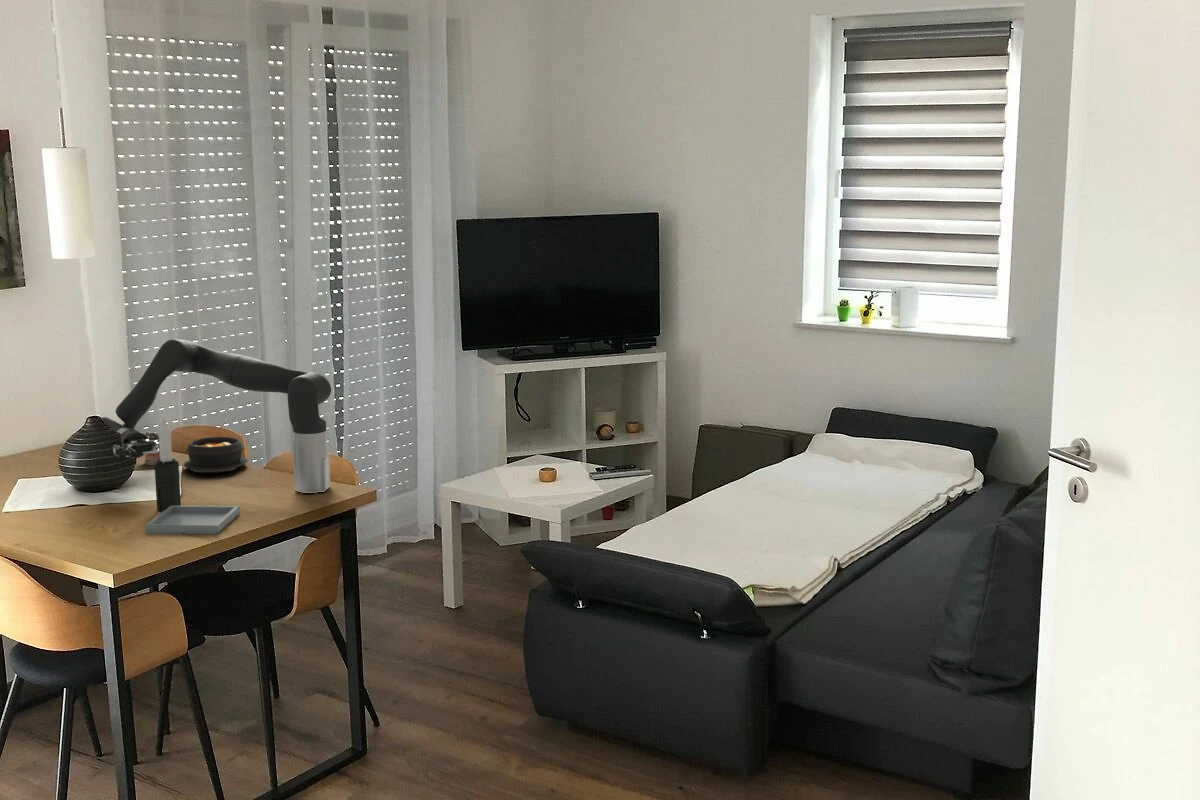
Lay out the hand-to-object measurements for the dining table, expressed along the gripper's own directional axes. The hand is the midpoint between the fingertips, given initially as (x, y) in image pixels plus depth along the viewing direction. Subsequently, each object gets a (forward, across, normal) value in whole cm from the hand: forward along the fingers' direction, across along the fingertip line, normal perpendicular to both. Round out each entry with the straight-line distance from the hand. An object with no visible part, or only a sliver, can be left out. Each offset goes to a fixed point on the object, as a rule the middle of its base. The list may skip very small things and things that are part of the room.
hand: (151, 452), depth 325 cm
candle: (+11, 0, +14) cm, 18 cm away
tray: (+28, 0, +14) cm, 31 cm away
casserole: (-26, +28, +14) cm, 40 cm away
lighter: (-42, +16, +14) cm, 47 cm away
